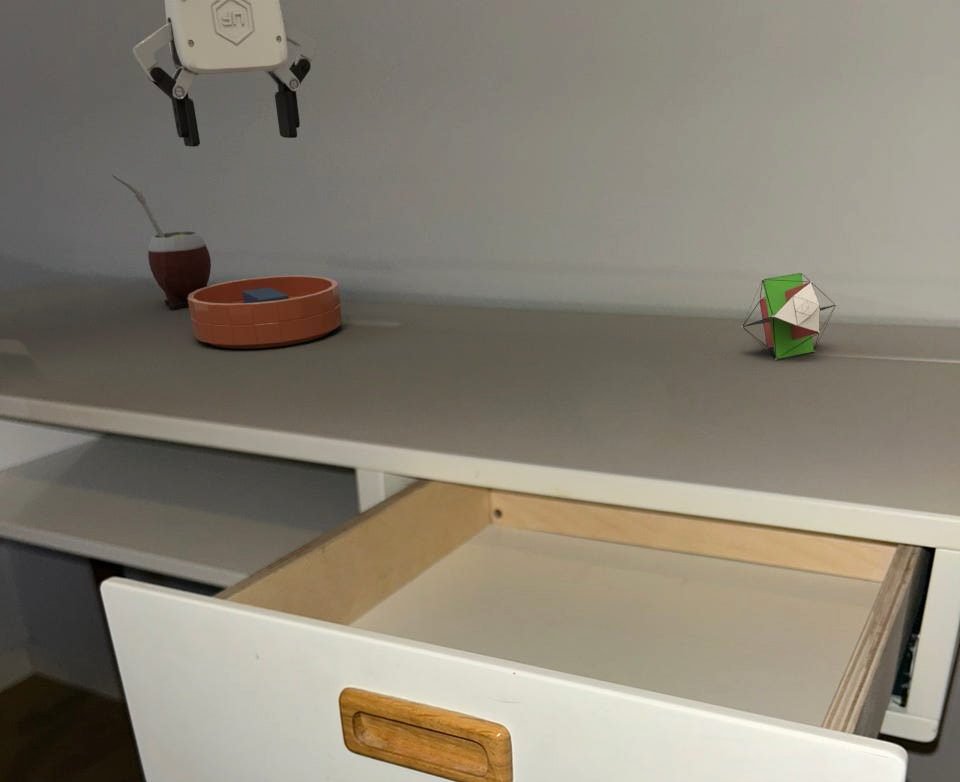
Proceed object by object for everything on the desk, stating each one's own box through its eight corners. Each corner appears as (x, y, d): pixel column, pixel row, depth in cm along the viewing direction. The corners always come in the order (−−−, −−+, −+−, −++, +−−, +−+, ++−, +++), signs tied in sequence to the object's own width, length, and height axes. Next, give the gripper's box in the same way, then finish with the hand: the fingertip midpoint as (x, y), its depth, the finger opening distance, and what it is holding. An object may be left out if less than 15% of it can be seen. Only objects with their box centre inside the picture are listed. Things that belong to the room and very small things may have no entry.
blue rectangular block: (265, 334, 108) (260, 299, 107) (247, 325, 113) (241, 291, 112) (293, 330, 110) (288, 295, 108) (274, 320, 114) (269, 287, 113)
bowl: (220, 359, 103) (212, 311, 101) (179, 332, 115) (171, 289, 112) (365, 334, 109) (360, 288, 107) (311, 311, 121) (306, 270, 119)
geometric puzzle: (717, 323, 95) (756, 254, 88) (778, 312, 97) (822, 244, 90) (755, 385, 92) (799, 319, 85) (817, 372, 95) (865, 307, 88)
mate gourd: (228, 299, 130) (206, 165, 123) (188, 313, 124) (163, 172, 117) (179, 297, 133) (155, 167, 126) (137, 311, 127) (109, 174, 120)
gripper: (121, -76, 88) (162, 150, 97) (316, -76, 95) (339, 135, 104) (103, -65, 94) (142, 148, 102) (288, -66, 101) (311, 133, 109)
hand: (241, 141), depth 103 cm, fingers open, 9 cm apart
